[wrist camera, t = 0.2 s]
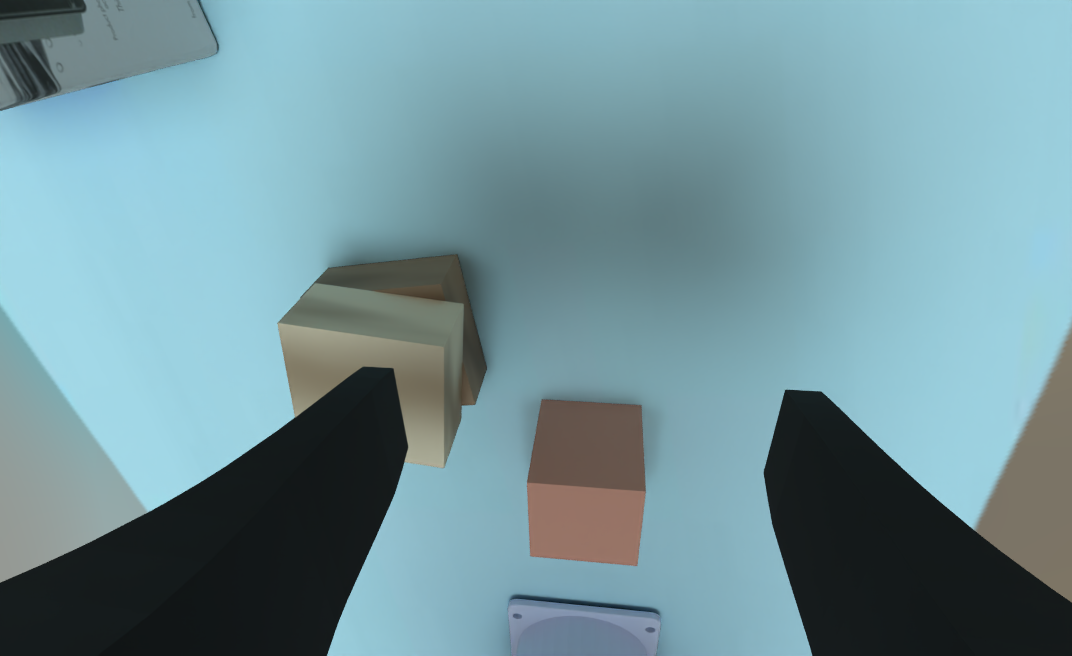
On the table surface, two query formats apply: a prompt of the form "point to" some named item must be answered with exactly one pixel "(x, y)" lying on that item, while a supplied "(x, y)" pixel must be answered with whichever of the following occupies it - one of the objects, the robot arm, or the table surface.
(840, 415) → the robot arm
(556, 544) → the block
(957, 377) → the table surface
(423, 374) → the tower top
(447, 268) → the tower base
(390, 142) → the table surface
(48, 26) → the ink box
